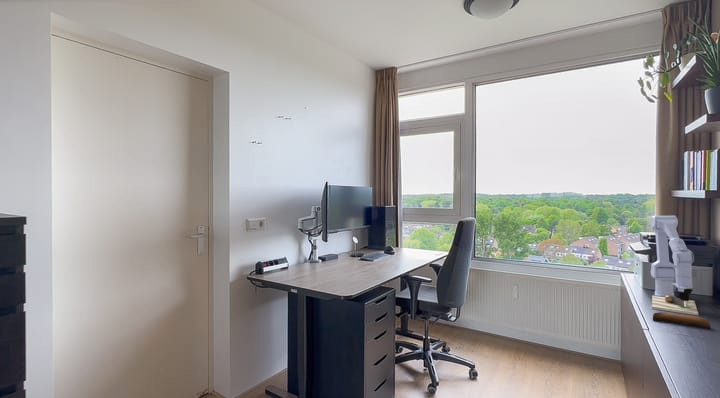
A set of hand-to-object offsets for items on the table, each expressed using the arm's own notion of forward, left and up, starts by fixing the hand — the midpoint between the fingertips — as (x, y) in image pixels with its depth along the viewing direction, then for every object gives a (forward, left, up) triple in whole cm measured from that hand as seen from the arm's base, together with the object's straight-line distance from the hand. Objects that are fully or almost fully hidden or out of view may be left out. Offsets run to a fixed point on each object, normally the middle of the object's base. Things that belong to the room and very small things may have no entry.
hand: (684, 303), depth 164 cm
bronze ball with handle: (0, -3, -1) cm, 3 cm away
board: (-1, -4, -2) cm, 5 cm away
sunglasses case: (+25, -3, -3) cm, 25 cm away
